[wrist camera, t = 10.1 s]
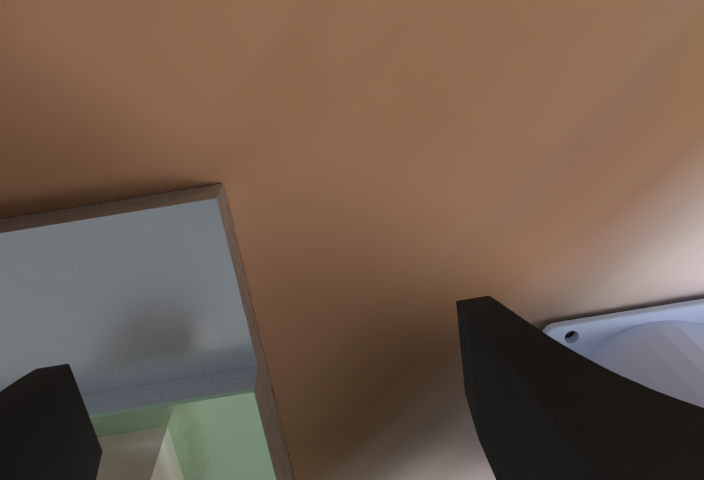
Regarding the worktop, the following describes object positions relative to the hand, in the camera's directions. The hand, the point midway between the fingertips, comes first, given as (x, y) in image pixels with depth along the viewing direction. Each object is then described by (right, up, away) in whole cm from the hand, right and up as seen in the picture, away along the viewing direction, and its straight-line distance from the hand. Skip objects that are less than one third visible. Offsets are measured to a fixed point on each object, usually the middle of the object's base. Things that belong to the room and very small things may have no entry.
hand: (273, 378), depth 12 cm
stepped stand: (-6, -5, +12) cm, 15 cm away
